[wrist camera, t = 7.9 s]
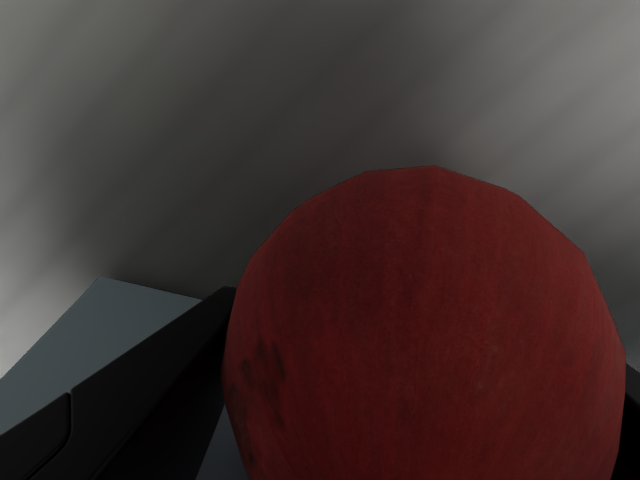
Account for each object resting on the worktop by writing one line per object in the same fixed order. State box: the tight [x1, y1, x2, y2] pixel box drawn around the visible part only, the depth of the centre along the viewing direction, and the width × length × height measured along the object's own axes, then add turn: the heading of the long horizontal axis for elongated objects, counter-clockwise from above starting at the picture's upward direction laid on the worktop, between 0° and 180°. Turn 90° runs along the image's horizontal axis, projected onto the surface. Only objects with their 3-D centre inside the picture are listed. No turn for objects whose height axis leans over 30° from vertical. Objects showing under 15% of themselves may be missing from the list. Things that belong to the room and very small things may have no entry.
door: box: [0, 276, 248, 480], centre depth 9 cm, size 18×1×6 cm, turn 76°
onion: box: [220, 166, 626, 480], centre depth 7 cm, size 6×6×8 cm
